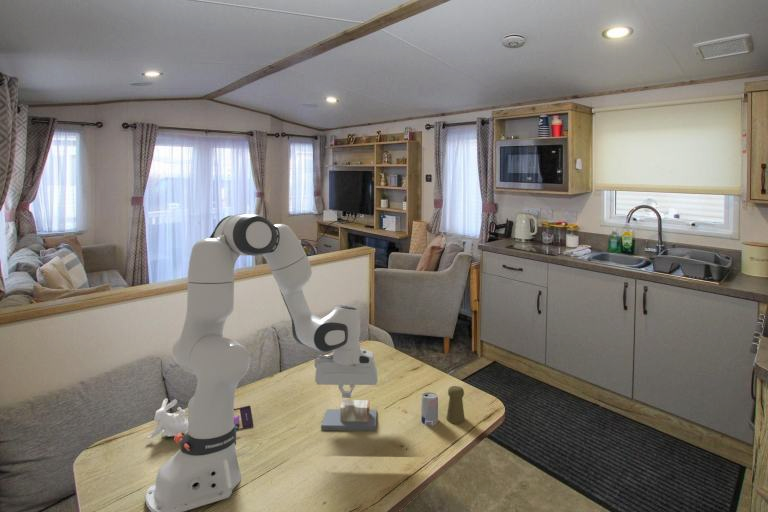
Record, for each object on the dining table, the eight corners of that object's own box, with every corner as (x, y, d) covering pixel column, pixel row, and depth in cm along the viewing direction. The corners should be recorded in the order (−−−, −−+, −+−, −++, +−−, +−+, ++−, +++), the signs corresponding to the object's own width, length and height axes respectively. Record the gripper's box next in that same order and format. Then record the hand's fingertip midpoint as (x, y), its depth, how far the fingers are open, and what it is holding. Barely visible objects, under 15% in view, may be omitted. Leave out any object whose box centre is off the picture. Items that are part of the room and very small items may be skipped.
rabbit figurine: (145, 439, 126) (144, 407, 126) (154, 427, 134) (153, 397, 133) (188, 436, 128) (187, 404, 128) (194, 424, 136) (194, 395, 135)
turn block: (340, 407, 135) (368, 407, 135) (342, 400, 141) (369, 400, 141) (340, 421, 135) (368, 421, 135) (342, 413, 141) (369, 413, 141)
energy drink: (426, 425, 143) (427, 390, 142) (440, 430, 139) (441, 394, 138) (418, 431, 138) (418, 396, 138) (432, 436, 135) (432, 400, 134)
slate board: (376, 413, 144) (376, 409, 144) (375, 430, 132) (375, 425, 132) (326, 413, 144) (326, 409, 144) (321, 430, 132) (321, 425, 132)
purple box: (253, 425, 134) (223, 432, 130) (252, 430, 138) (223, 437, 134) (250, 404, 137) (220, 411, 133) (249, 410, 141) (220, 416, 137)
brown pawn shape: (445, 422, 138) (445, 389, 137) (447, 414, 144) (448, 383, 143) (463, 425, 136) (464, 391, 135) (465, 417, 142) (466, 385, 141)
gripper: (312, 358, 134) (313, 400, 135) (377, 358, 134) (377, 401, 134) (316, 352, 140) (316, 393, 141) (377, 352, 140) (377, 393, 141)
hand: (346, 397), depth 138 cm, fingers closed
